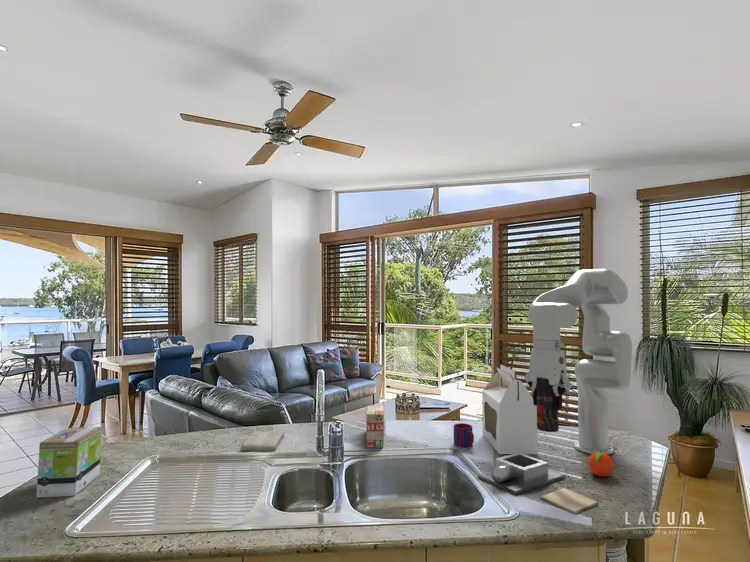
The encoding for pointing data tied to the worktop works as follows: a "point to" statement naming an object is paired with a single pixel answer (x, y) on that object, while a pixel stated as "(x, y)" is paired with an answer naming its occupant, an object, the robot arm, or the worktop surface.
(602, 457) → the clementine
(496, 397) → the gable box
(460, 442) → the mug
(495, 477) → the grey square holder
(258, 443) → the washcloth
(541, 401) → the deodorant
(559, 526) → the worktop surface
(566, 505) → the coaster
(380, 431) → the stack of blocks
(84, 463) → the tea box
